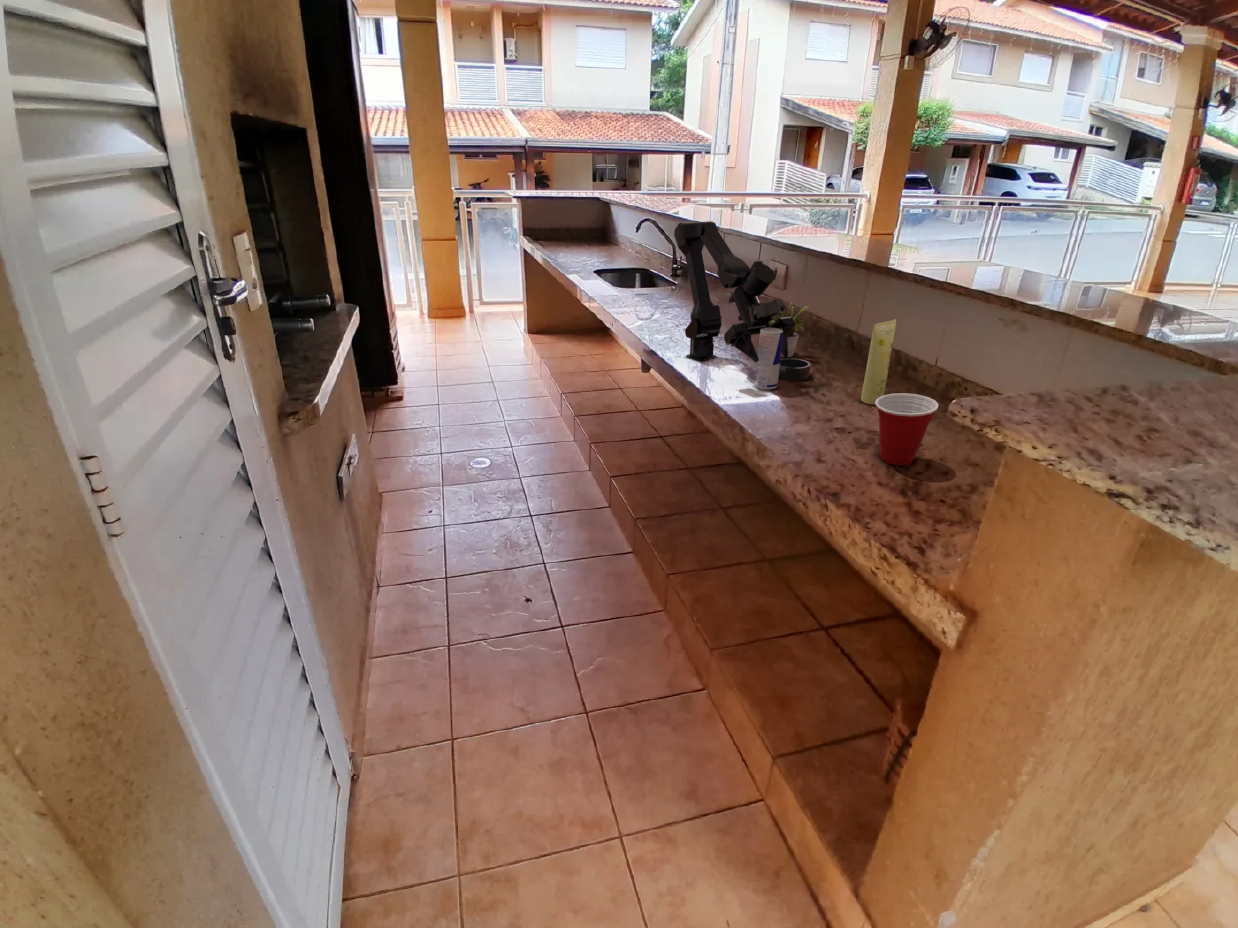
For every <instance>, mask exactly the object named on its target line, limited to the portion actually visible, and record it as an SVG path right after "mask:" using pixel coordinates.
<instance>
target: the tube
mask: <svg viewBox="0 0 1238 928" xmlns="http://www.w3.org/2000/svg"><path fill="white" fill-rule="evenodd" d="M896 326H897V319H896V318H895V319H892V320H888V321H887V320H886V321H883V322H878V323H875V324H874V325H873V329H872V335H871V340H870V345H869V350H868V356H867V363H866V368H865V373H864V379H863V385H862V391H861V397H860V402H862V403H864V404H867V405H875V402H876V400H877V399H878V398H880V397H881V396H884V395H885V392H886V391H885V390H886V385H887V379H888V374H889V367H890V362H891V356H892V349H893V344H894V339H895V332H896ZM875 406H876V405H875Z"/></svg>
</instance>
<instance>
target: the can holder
mask: <svg viewBox="0 0 1238 928" xmlns="http://www.w3.org/2000/svg"><path fill="white" fill-rule="evenodd" d="M811 365H812V364H811V363H810V361H807V360H805V359H801V358H792V357H791V358H790V357H786V358H780V366H779V376H778V380H779V379H780V380H784V381H790V382H798V381H805V380H808V379H809V378H810V375H811V373H810V372H811Z"/></svg>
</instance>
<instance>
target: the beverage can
mask: <svg viewBox="0 0 1238 928" xmlns="http://www.w3.org/2000/svg"><path fill="white" fill-rule="evenodd" d="M760 331H761V332H760V334H759V338H758V351H757V356H758V359H759V361H758V362H756V371H755V372H756V374H755V383H754V386H755V387H756V388H758V389H760V390H764V391H770V390H771V391H772V390H775V389H776V388H778V386H779V385H778V383H779V378H778V376H779V366H780V359H781V358H782V357H781V347H782V338H783V333H782V332H783V330H781V329H777V328H763V329H761V330H760Z"/></svg>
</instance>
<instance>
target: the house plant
mask: <svg viewBox="0 0 1238 928" xmlns="http://www.w3.org/2000/svg"><path fill="white" fill-rule="evenodd" d="M793 302H794V300H791V302H790V303H789V307H788V310H787V313H786V316H785V314H784V311H781V314H780V315H778V314H777V315H775V316H774V317H775V318H776V320H777V319H778V318H783V317H792V318H793V320H794V322H795V326H794V327H793V328H792V329H791V330H790V331H789V333H788V356H787V357H786V358H790V357H791V358H792V357H793V356H794V353H795V350H796V346H797V343H798V339H799V333H797V332H798V330H799V328H800V329H801V330H802V331H804V329H805V328H804V326H803V325H805V323H804V322H805V320H803V319H798V318H799V317H800V316H801V315H802V314H803V313H805V312H806V311H809V310H808V309H807V308H809V307H810V305H806V306H804V307H803V308H801V309H800V310H799V311H798V312H797V313H796V314H795V316H794V317H793V315H794V305H793V304H792V303H793ZM797 306H799V304H797V305H796V307H797ZM806 309H807V310H806ZM776 320H774V319H773V320H772V321H770V322H769V323H771V324H774V323H775V321H776ZM780 358H785V357H784V356H783V355H782V353H781V357H780Z"/></svg>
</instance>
